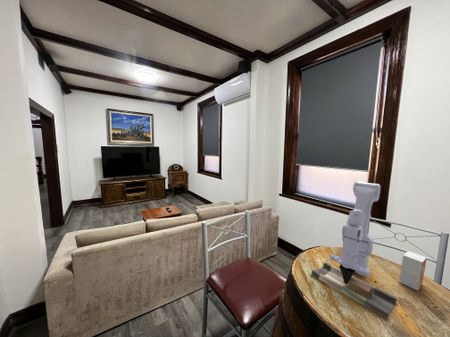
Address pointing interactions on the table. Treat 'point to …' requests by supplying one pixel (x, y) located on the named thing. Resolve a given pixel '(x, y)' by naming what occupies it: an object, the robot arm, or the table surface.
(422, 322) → the table surface
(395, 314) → the table surface
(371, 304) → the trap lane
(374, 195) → the robot arm
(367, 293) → the walnut block
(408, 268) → the small box
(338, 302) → the table surface
